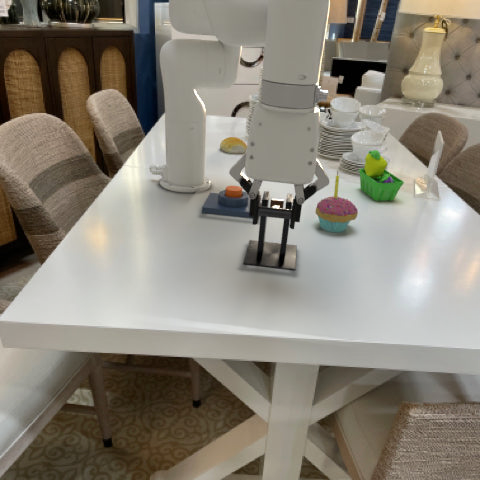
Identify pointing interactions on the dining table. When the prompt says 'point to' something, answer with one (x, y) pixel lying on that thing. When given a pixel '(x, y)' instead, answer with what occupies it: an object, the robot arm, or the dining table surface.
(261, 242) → the bracket
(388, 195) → the fruit basket
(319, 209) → the cupcake
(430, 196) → the dining table surface
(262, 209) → the lever
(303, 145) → the robot arm
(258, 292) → the dining table surface
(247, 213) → the button block
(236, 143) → the bread roll
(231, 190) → the button
